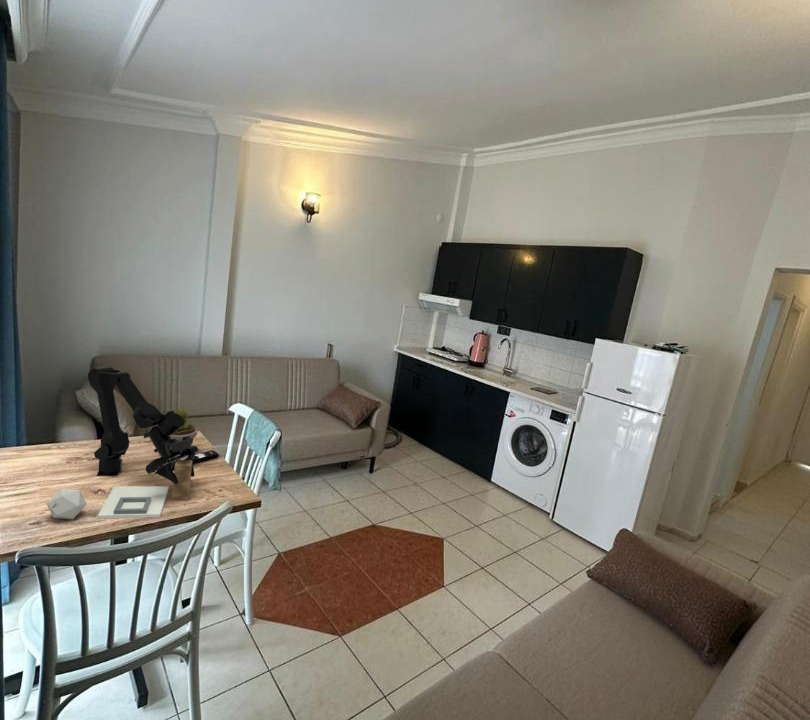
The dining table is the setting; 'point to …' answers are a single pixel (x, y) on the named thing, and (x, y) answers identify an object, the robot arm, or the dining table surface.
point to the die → (66, 504)
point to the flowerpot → (184, 428)
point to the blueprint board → (134, 502)
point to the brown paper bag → (182, 480)
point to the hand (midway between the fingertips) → (185, 479)
